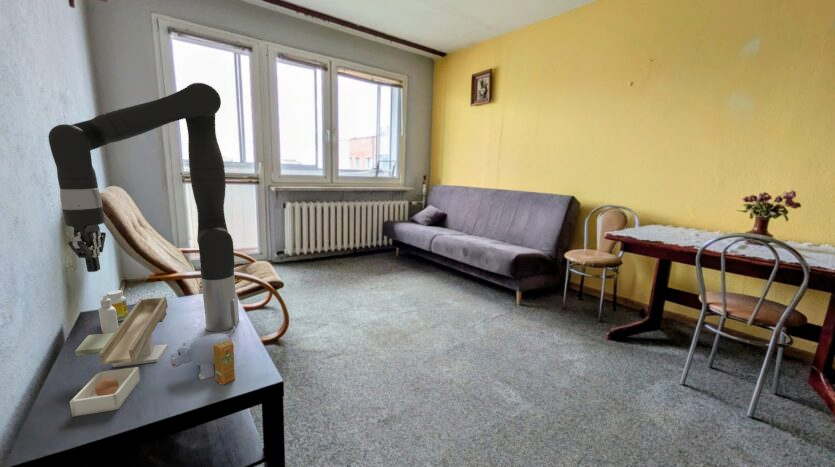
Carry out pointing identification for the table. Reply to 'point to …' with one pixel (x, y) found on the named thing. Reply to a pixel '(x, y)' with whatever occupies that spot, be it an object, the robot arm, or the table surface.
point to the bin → (93, 403)
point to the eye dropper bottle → (108, 316)
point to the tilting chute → (127, 333)
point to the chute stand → (147, 354)
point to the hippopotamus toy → (201, 353)
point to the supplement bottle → (118, 304)
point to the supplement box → (224, 362)
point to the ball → (107, 387)
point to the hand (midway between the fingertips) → (94, 270)
